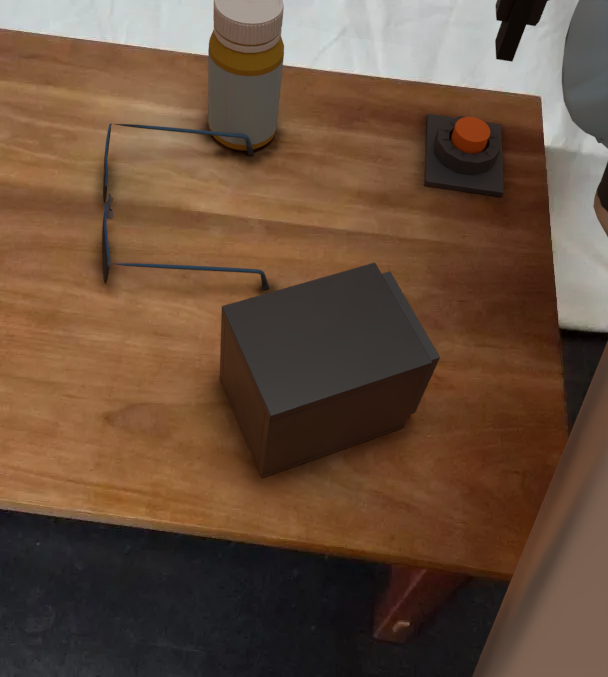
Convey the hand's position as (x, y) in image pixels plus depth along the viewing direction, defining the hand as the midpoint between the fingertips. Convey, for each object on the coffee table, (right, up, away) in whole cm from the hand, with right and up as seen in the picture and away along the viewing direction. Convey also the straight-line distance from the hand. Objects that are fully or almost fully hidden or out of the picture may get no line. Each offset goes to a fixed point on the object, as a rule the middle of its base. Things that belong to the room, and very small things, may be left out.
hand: (503, 50), depth 74 cm
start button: (-1, -6, +10) cm, 12 cm away
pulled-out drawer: (-15, -30, -6) cm, 34 cm away
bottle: (-24, -5, +11) cm, 27 cm away
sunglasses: (-29, -15, +4) cm, 33 cm away
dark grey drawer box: (-17, -31, -6) cm, 36 cm away
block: (-1, -7, +12) cm, 14 cm away
